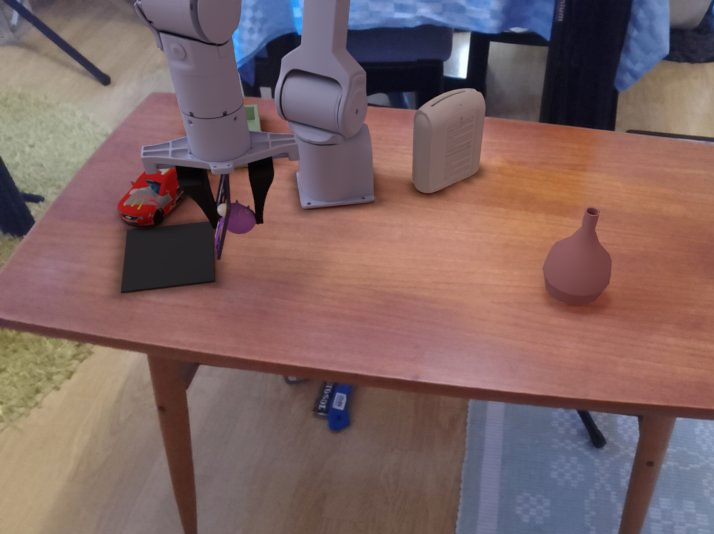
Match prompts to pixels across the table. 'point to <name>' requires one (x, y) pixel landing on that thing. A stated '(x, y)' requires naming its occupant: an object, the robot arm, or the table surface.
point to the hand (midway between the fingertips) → (237, 220)
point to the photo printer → (447, 139)
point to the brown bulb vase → (578, 265)
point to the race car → (150, 198)
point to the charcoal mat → (168, 256)
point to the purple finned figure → (230, 215)
